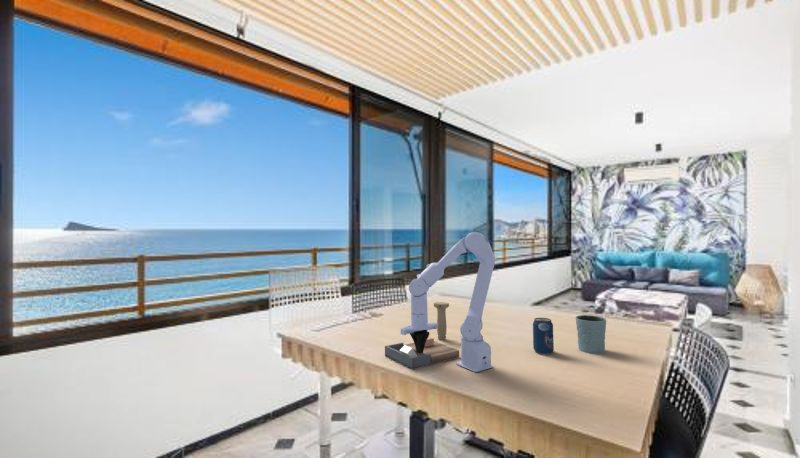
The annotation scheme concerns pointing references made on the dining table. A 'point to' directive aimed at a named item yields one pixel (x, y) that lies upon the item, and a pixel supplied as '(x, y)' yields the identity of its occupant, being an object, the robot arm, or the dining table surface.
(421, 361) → the box
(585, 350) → the blue-grey cup
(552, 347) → the soda can
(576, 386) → the dining table surface
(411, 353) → the tile cream
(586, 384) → the dining table surface
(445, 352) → the wooden board
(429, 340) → the tile terracotta
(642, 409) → the dining table surface
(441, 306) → the handle
